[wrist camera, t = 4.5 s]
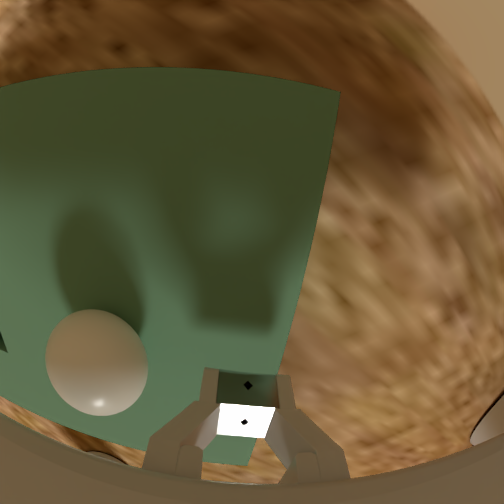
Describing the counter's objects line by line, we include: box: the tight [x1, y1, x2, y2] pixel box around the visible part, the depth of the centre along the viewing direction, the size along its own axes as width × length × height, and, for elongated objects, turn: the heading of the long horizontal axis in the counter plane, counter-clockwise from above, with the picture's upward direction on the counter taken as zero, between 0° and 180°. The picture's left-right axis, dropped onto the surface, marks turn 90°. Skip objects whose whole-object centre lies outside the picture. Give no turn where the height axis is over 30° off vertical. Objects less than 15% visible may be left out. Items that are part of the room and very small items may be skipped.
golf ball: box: [45, 309, 148, 416], centre depth 9 cm, size 4×4×4 cm
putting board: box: [0, 67, 341, 466], centre depth 12 cm, size 26×20×2 cm
